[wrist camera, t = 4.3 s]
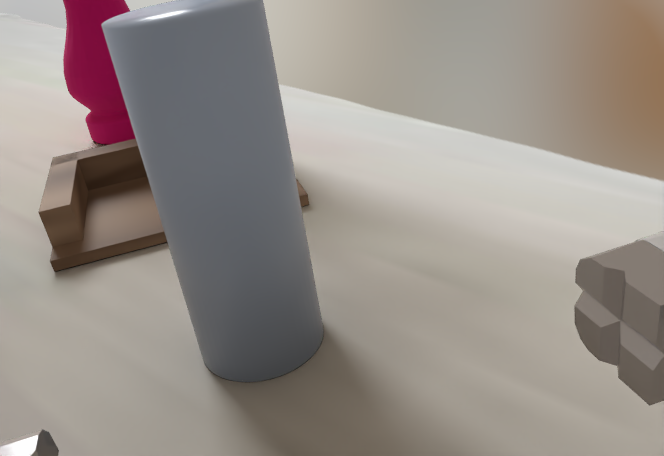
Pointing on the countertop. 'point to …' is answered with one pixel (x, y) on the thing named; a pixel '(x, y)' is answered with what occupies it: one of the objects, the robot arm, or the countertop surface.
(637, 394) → the robot arm
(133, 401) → the countertop surface
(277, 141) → the grey tapered cup
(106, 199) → the hanger stand
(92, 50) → the pepper mill
